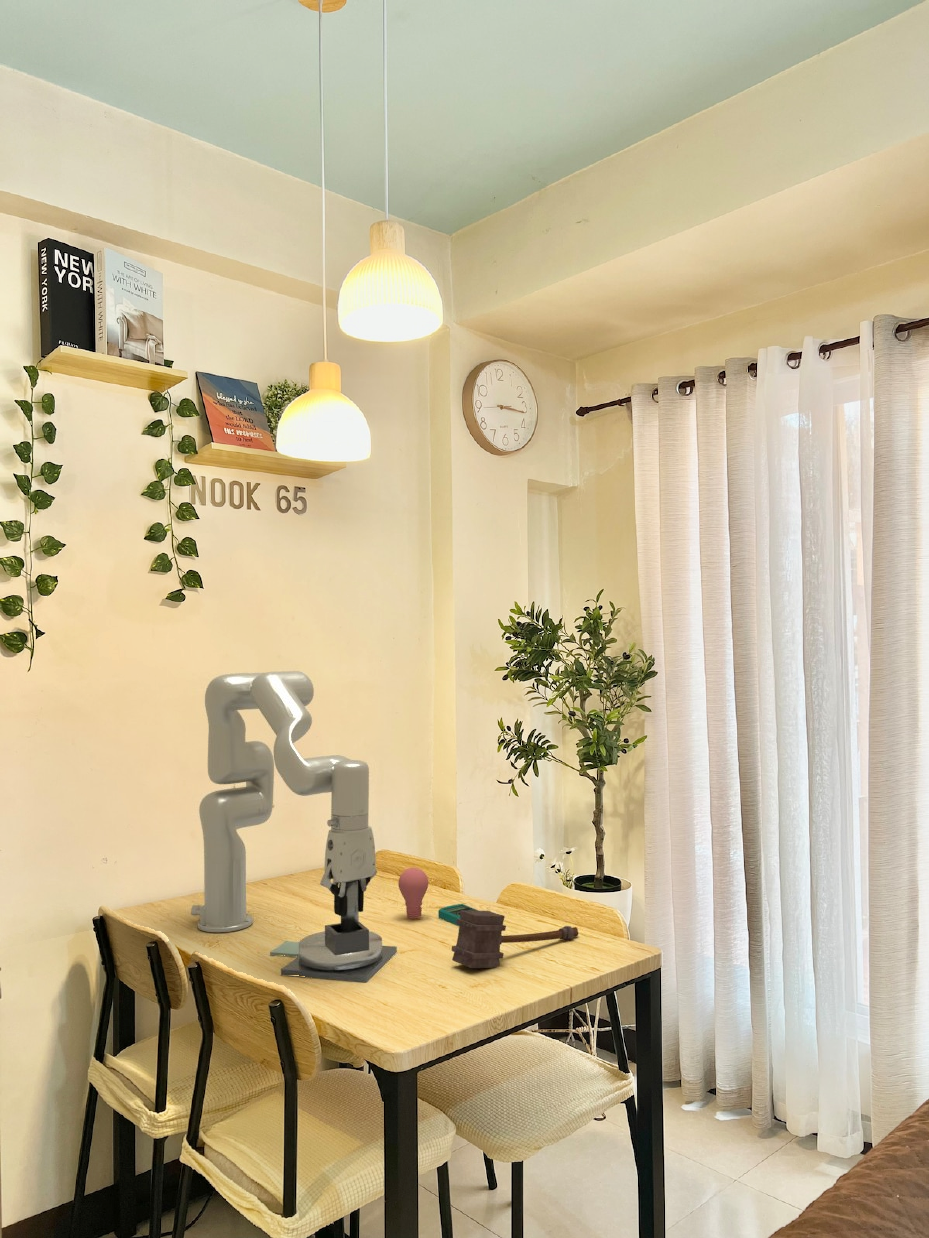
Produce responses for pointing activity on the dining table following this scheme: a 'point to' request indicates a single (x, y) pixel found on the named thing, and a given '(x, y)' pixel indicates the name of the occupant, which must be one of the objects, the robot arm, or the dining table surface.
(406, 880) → the light bulb
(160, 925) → the dining table surface
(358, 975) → the base
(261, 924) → the dining table surface
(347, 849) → the robot arm
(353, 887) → the chrome capsule
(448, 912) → the digital multimeter
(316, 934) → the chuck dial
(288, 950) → the mat
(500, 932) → the hammer
